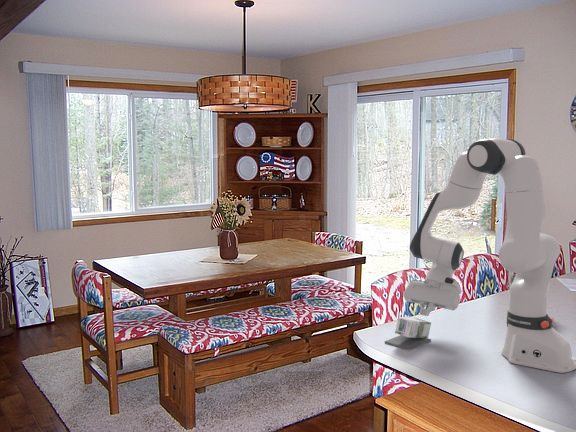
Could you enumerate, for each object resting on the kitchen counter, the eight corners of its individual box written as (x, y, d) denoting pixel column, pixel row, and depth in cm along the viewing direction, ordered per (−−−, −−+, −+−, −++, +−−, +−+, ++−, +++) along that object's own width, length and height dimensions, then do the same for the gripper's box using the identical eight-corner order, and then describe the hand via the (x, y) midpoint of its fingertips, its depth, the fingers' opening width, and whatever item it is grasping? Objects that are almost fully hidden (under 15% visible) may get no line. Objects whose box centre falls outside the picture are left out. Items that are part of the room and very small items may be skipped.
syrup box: (417, 318, 205) (397, 316, 194) (432, 322, 201) (412, 320, 190) (413, 333, 205) (393, 333, 194) (428, 338, 201) (409, 337, 190)
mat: (431, 340, 199) (431, 339, 199) (409, 350, 190) (409, 348, 190) (406, 334, 206) (406, 332, 206) (384, 343, 197) (384, 341, 197)
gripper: (408, 273, 214) (394, 304, 208) (460, 281, 201) (447, 315, 195) (414, 283, 218) (400, 313, 212) (466, 291, 205) (452, 324, 199)
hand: (423, 314), depth 203 cm, fingers closed
